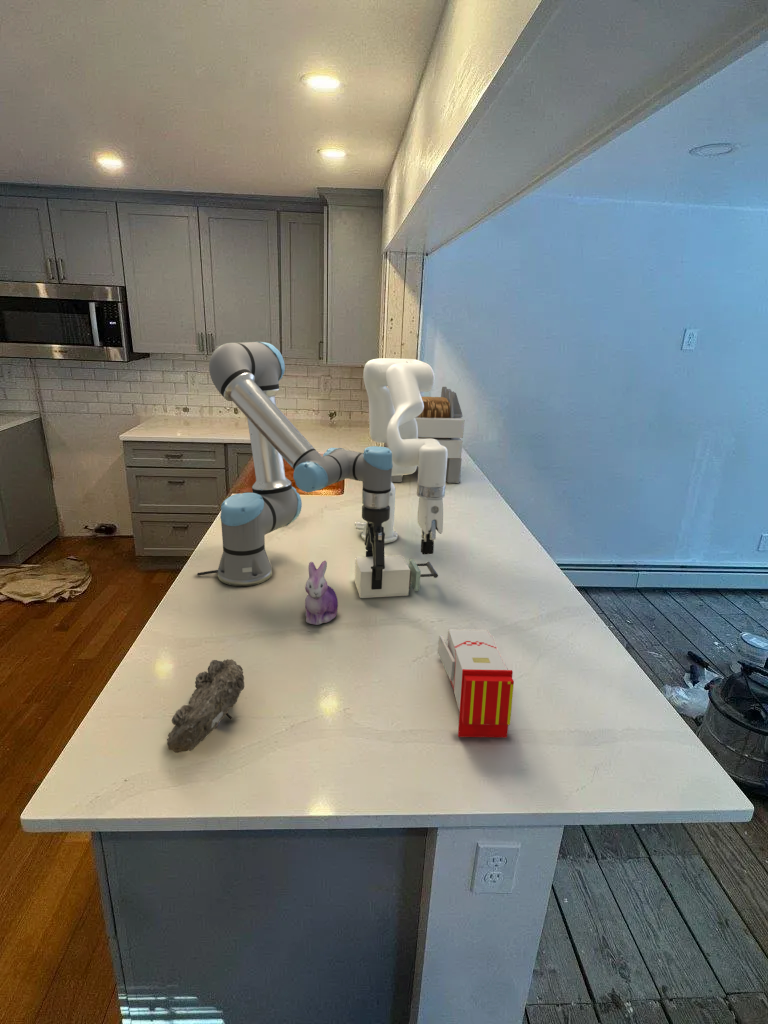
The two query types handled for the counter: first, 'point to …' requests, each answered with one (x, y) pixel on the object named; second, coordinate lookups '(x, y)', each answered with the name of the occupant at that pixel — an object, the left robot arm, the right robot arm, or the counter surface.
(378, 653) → the counter surface
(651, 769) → the counter surface
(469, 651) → the toy
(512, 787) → the counter surface
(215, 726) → the fossil
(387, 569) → the open cream box
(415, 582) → the drawer
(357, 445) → the counter surface
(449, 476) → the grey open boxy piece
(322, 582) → the figurine
